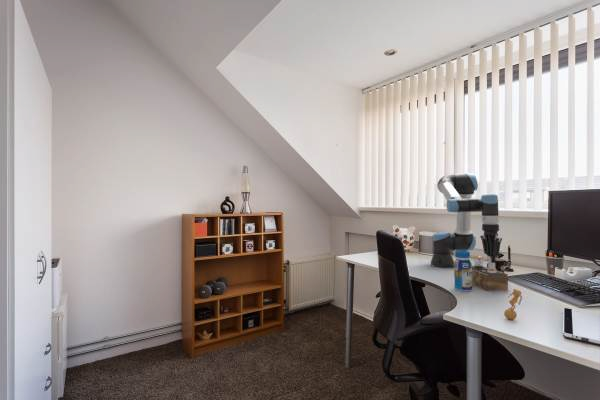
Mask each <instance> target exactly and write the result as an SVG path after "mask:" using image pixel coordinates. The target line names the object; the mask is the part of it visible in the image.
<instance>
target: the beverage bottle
mask: <svg viewBox="0 0 600 400" xmlns="http://www.w3.org/2000/svg"><path fill="white" fill-rule="evenodd" d="M454 255H455V256H454V257H455V260H454V266H453V271H454V272H453V273H454V275H453V277H454V289H455V290H457V291H459V292H471V291H473V284H472V268H471V266H473V265H472V262H471V260H470V257H471V255H470V251H464V250H457V251H454Z"/></svg>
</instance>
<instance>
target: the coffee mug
mask: <svg viewBox="0 0 600 400" xmlns="http://www.w3.org/2000/svg"><path fill="white" fill-rule="evenodd" d="M495 260H496V262H495V269H496V270H497V271H500V272H503V273H505V267H506V259H504V258H499V257H495ZM486 267H487V268H488V262H487V264H486Z"/></svg>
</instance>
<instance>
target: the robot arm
mask: <svg viewBox="0 0 600 400" xmlns="http://www.w3.org/2000/svg"><path fill="white" fill-rule="evenodd" d="M436 185H437V189H438V191H439V192H440V193H441V194H442V195H443V196H444V198H445V199H446V204H445V205H446V207H445V208H446V210H447V212H449V213H456V229H454V231H453V233H452V232H450V231H441V232H439V231H438V232H435V233H434V234H433V235H432V253H433V254H432V257H431V260H430V266H432V265H434V266H433V267H437V266H438V267H439V268H452V267H453V268H454V267H455V265H454V262H455V260H454V259H453V256H452V251H454V252H455V251H457V250H464V251H469V252H470V251H473V250H474V249H475V247H476V244H477V240H476V239H477V238H476V234H474V232H473V230H471V228H472V227H471V220H472V219H471V218H472V213H477V212H478V213H481V223H482V224H481V230H482V231H483V235H480V237H479V238H480V239H481V242H482V248H483V252H484V253H483V254H485V255H486V256H487V263H488V268H489V269H495V262H496V260H495V258H497V257H498V256H499V255H500V248H501V242H502V240H503V238H502V237H499V234H498V232H499V231H500V224H499V223H500V219H499V217H500V216H499V197H498V194H496V193H492V194H489V193H488V194H482V195H481V197H479V198H477V197H476V198H474V197H473V198H472V196H473V195H474V194H475V192H476V191H477V190H478V187H479V183H478V178H477V177H476V174H474V173H472V172H471V173H469V172H468V173H467V172H466V173H448V174H446V175H444V176H442V177H440V178H439V180H438V181H437V184H436ZM438 267H437V268H438Z"/></svg>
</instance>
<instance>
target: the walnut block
mask: <svg viewBox="0 0 600 400" xmlns="http://www.w3.org/2000/svg"><path fill="white" fill-rule="evenodd" d="M471 268H472V286H475V287H478V288H480V289H482V290H485V291H489V292H493V291H507V290H509V282H508V281H509V279H508V276H509V275H508V273H506V272H504V273H503V272H500V271H497V270H496V273H489V272H487V266H483V268H482V269H477V268H475V265H472V266H471Z"/></svg>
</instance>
